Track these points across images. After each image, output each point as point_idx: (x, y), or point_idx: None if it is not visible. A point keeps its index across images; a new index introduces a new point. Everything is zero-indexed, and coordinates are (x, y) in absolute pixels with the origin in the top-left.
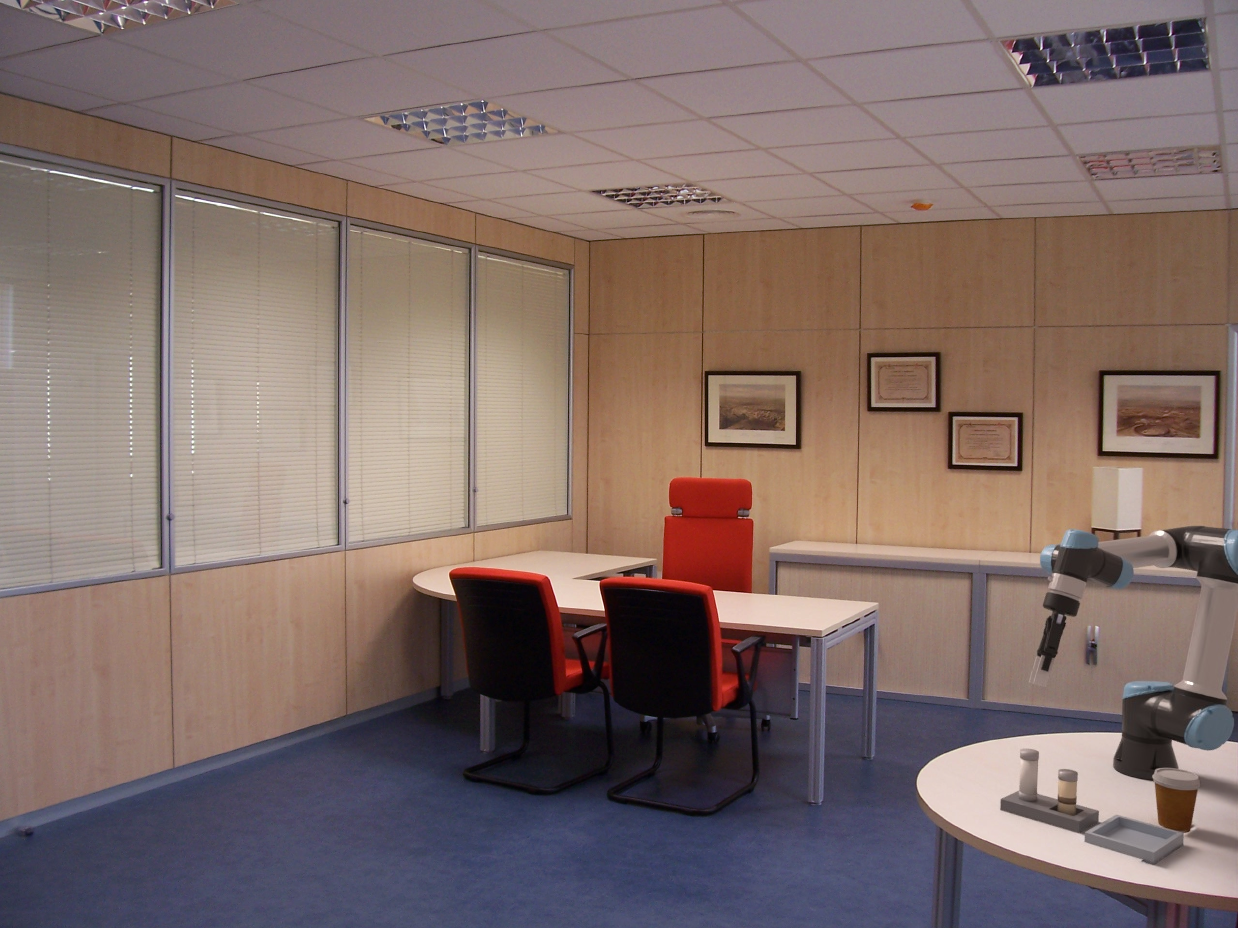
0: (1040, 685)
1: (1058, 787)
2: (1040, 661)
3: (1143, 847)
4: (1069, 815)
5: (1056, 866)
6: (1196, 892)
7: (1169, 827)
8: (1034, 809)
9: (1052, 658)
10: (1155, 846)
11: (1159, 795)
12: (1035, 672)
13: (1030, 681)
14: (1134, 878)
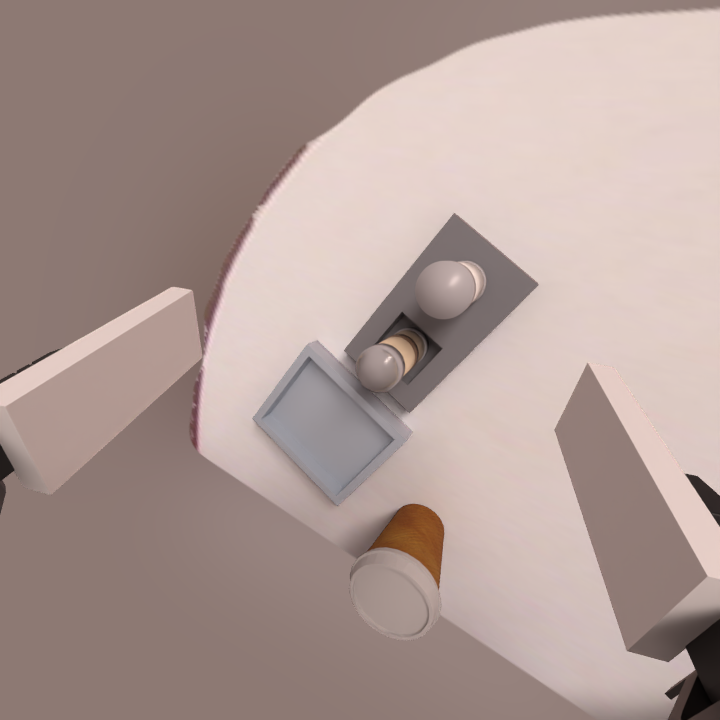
0: (557, 430)
1: (391, 340)
2: (43, 364)
3: (311, 426)
4: (372, 343)
5: (224, 264)
6: (198, 422)
7: (398, 511)
8: (400, 280)
9: (18, 473)
10: (319, 446)
11: (392, 535)
12: (606, 442)
13: (585, 375)
14: (215, 364)
